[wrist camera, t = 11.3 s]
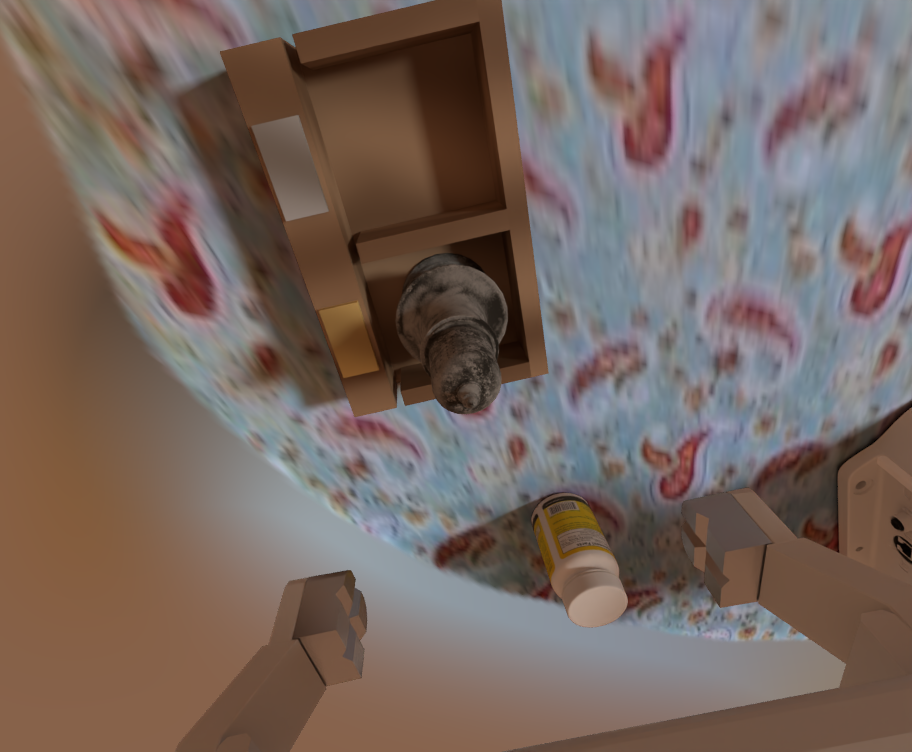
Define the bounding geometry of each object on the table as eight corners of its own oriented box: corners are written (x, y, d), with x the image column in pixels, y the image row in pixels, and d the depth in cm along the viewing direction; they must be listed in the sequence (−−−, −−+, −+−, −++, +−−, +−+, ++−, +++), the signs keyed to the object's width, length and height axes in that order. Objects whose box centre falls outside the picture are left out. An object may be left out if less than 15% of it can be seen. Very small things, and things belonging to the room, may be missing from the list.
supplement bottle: (562, 543, 40) (598, 640, 32) (518, 522, 38) (545, 619, 31) (601, 505, 38) (649, 598, 31) (557, 481, 36) (596, 573, 29)
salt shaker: (375, 297, 28) (357, 408, 17) (449, 224, 26) (479, 298, 16) (445, 361, 30) (467, 493, 20) (516, 298, 28) (582, 404, 18)
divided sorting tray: (533, 347, 31) (549, 375, 27) (359, 386, 31) (354, 420, 28) (485, 4, 22) (500, -17, 19) (245, 61, 22) (216, 50, 19)
